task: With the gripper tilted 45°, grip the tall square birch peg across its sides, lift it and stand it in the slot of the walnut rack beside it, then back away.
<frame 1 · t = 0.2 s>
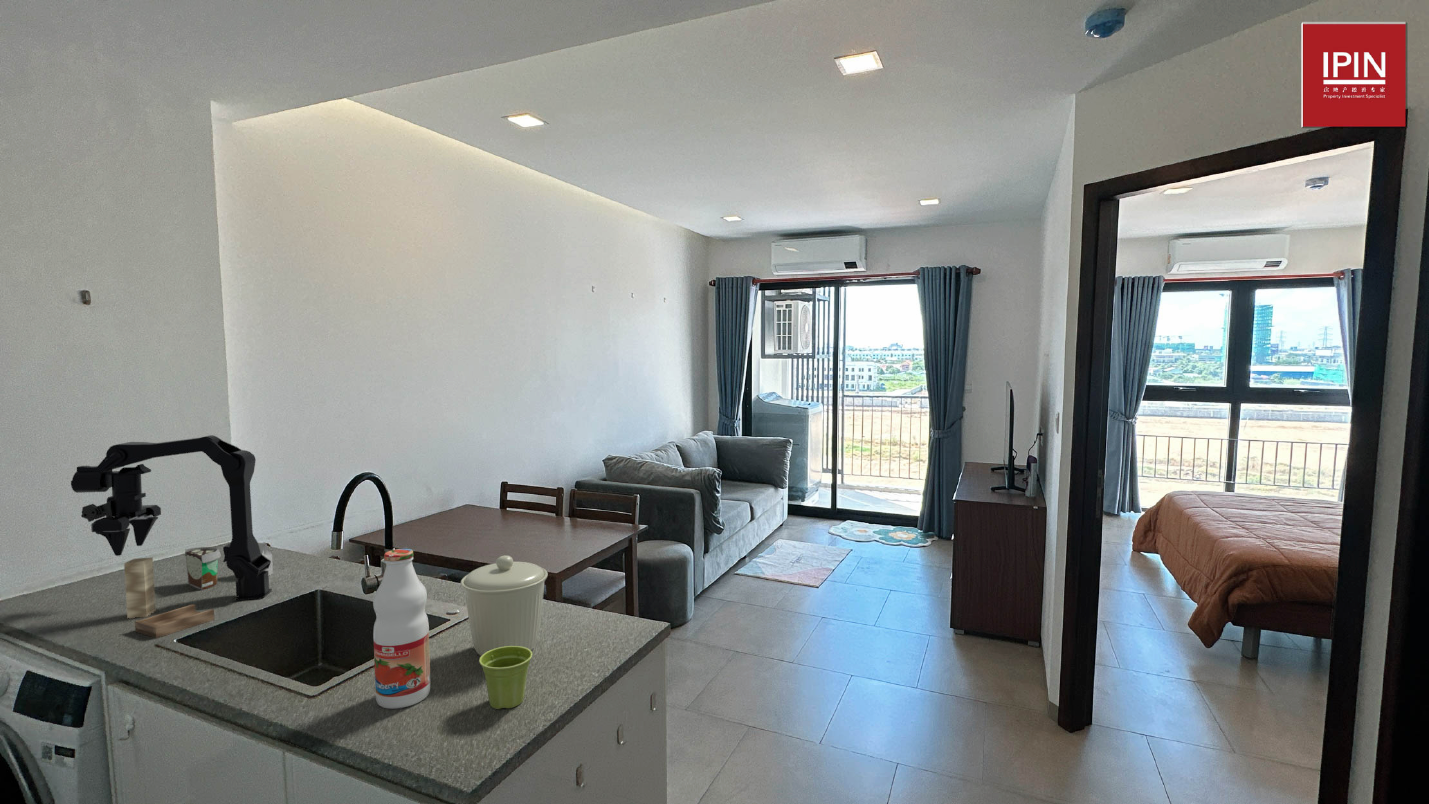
hand: (129, 550, 169), 15 cm above the worktop, tool pointing down, fingers open, 9 cm apart
food container: (208, 584, 188), on the worktop
plant pot: (507, 702, 122), on the worktop
tea bag: (258, 575, 195), on the worktop
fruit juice: (403, 698, 123), on the worktop
canister: (506, 650, 144), on the worktop
birch peg: (141, 614, 165), on the worktop
walnut rack: (175, 625, 158), on the worktop
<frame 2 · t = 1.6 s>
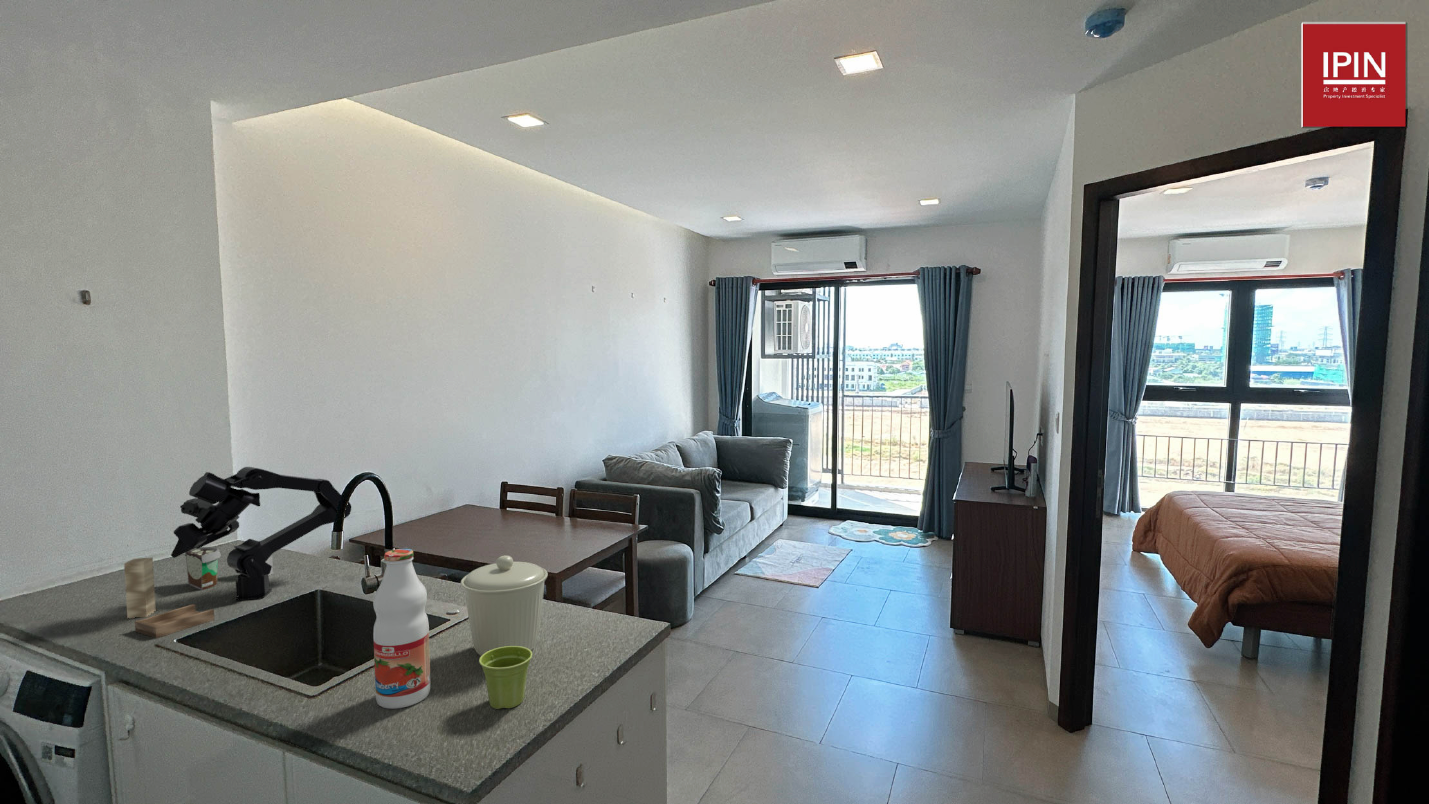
hand: (184, 551, 172), 14 cm above the worktop, tool tilted 45°, fingers open, 9 cm apart
nothing on the worktop moved.
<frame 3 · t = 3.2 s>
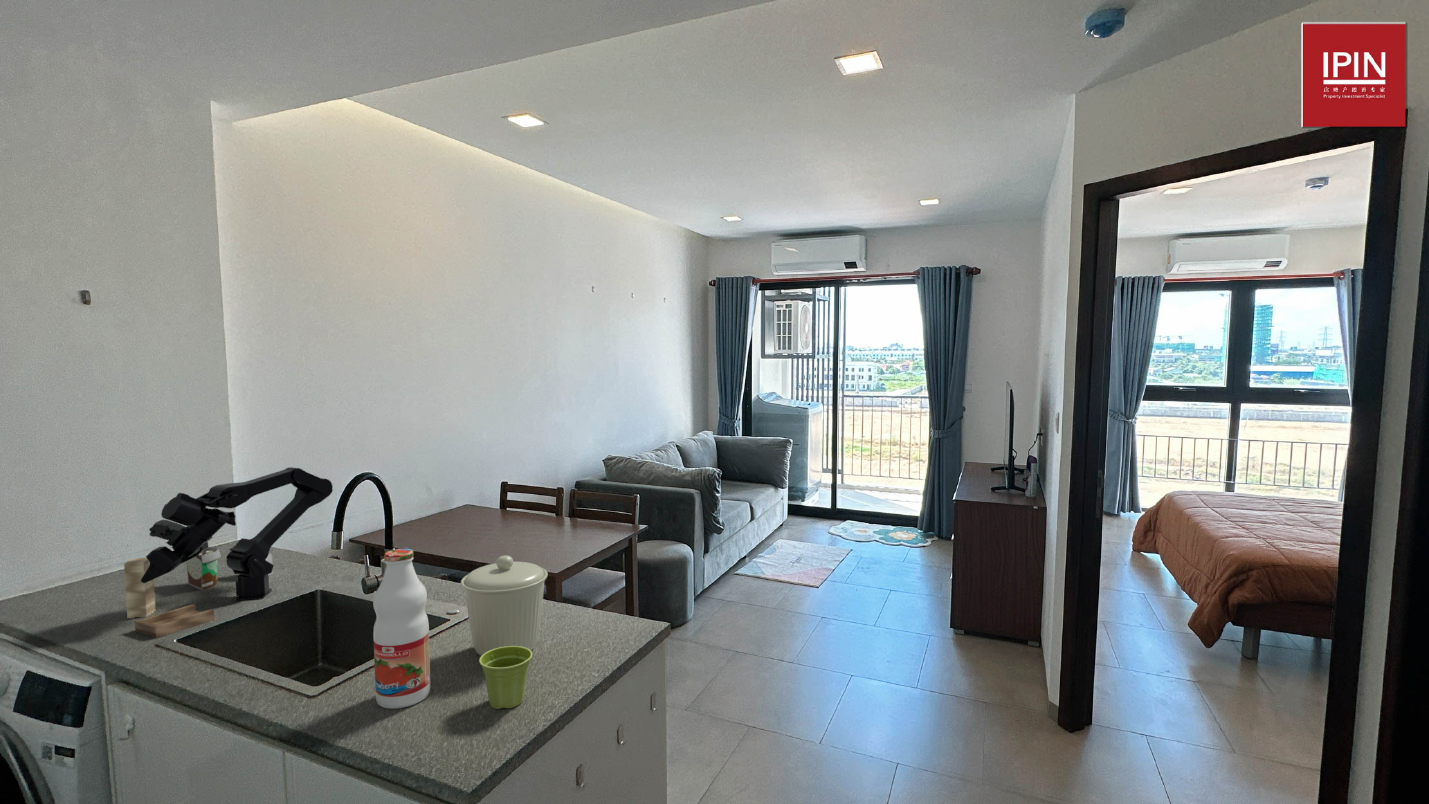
hand: (152, 576, 165), 10 cm above the worktop, tool tilted 45°, fingers open, 9 cm apart
nothing on the worktop moved.
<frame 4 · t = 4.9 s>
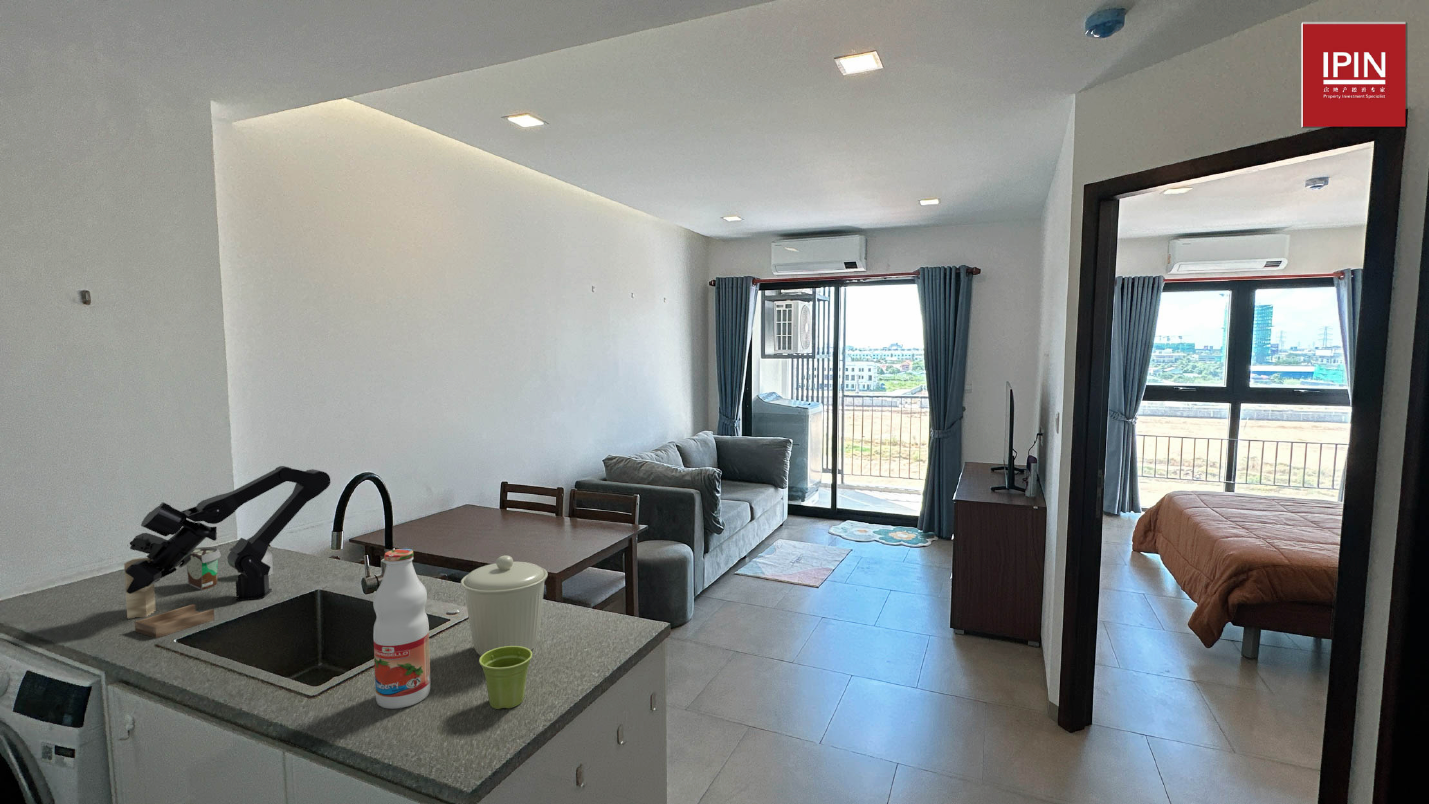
hand: (133, 589, 164), 7 cm above the worktop, tool tilted 45°, fingers closed on birch peg, 4 cm apart
birch peg: (141, 614, 165), on the worktop, touching gripper
everything else where it was.
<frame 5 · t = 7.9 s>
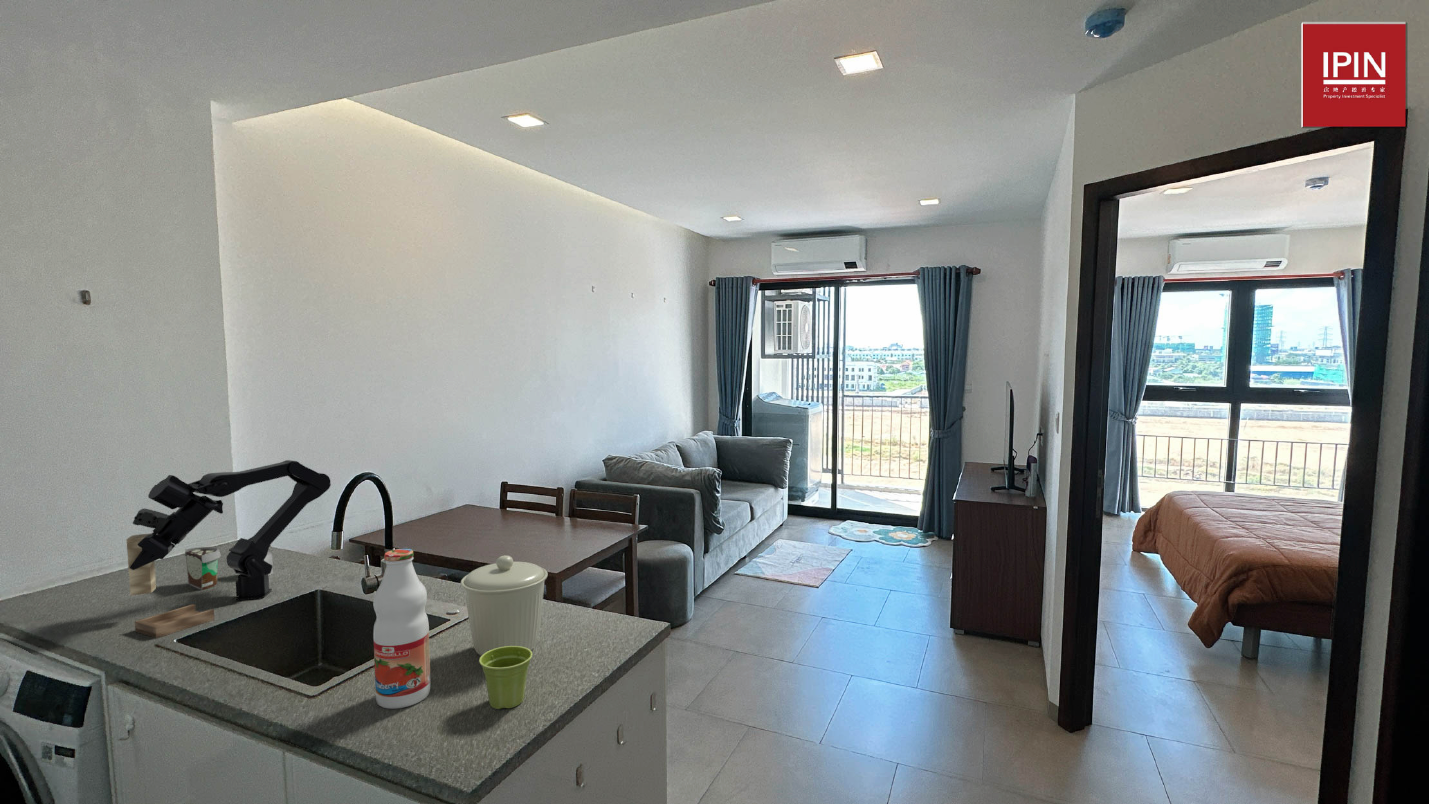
hand: (134, 566, 160), 14 cm above the worktop, tool tilted 45°, fingers closed on birch peg, 4 cm apart
birch peg: (143, 591, 161), point 7 cm above the worktop, touching gripper
everything else where it was.
when the fingers open (9 cm above the worktop, at t = 10.7 s): birch peg stays where it is, resting on walnut rack.
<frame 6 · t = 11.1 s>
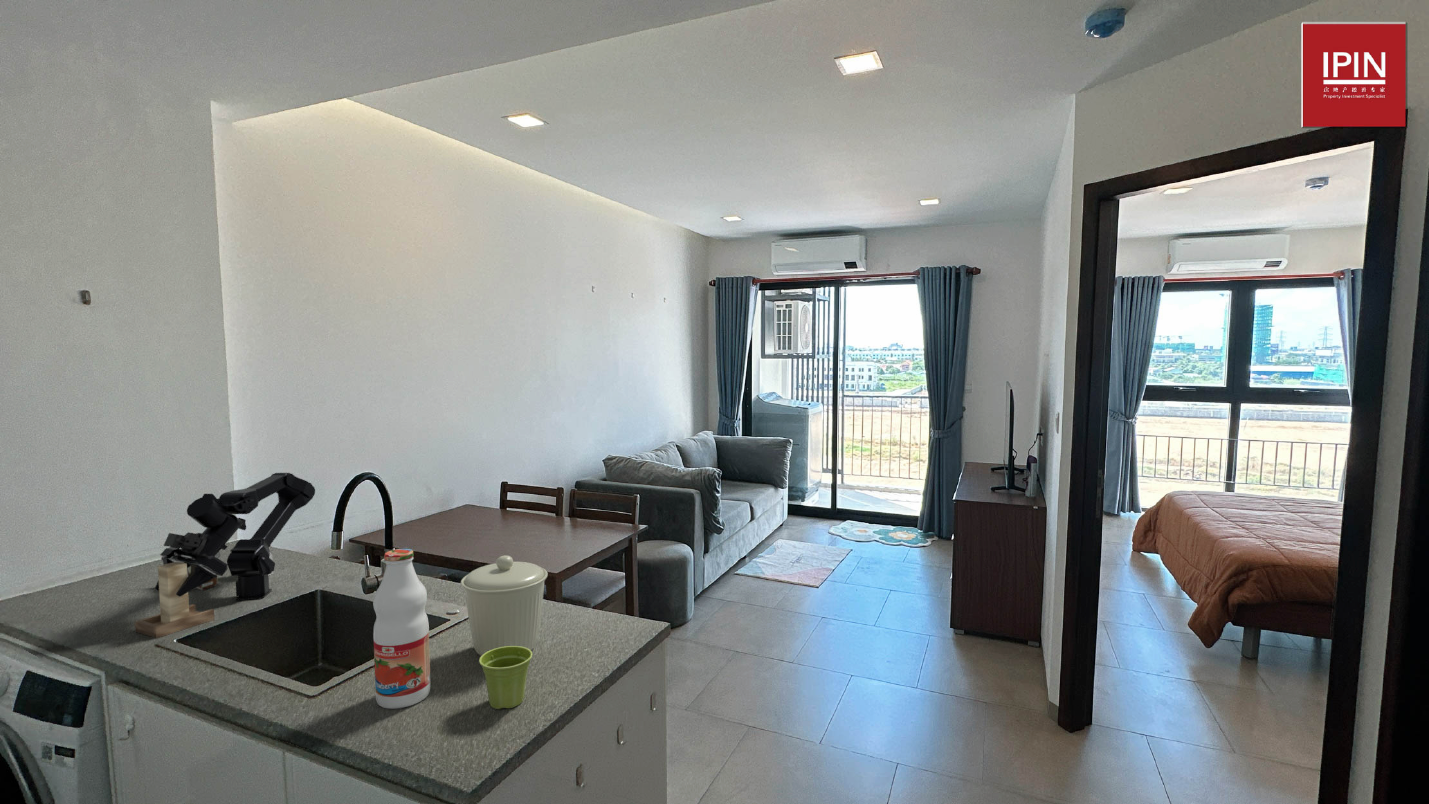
hand: (167, 592, 156), 9 cm above the worktop, tool tilted 45°, fingers open, 9 cm apart
birch peg: (175, 621, 158), point 1 cm above the worktop, touching walnut rack
everything else where it was.
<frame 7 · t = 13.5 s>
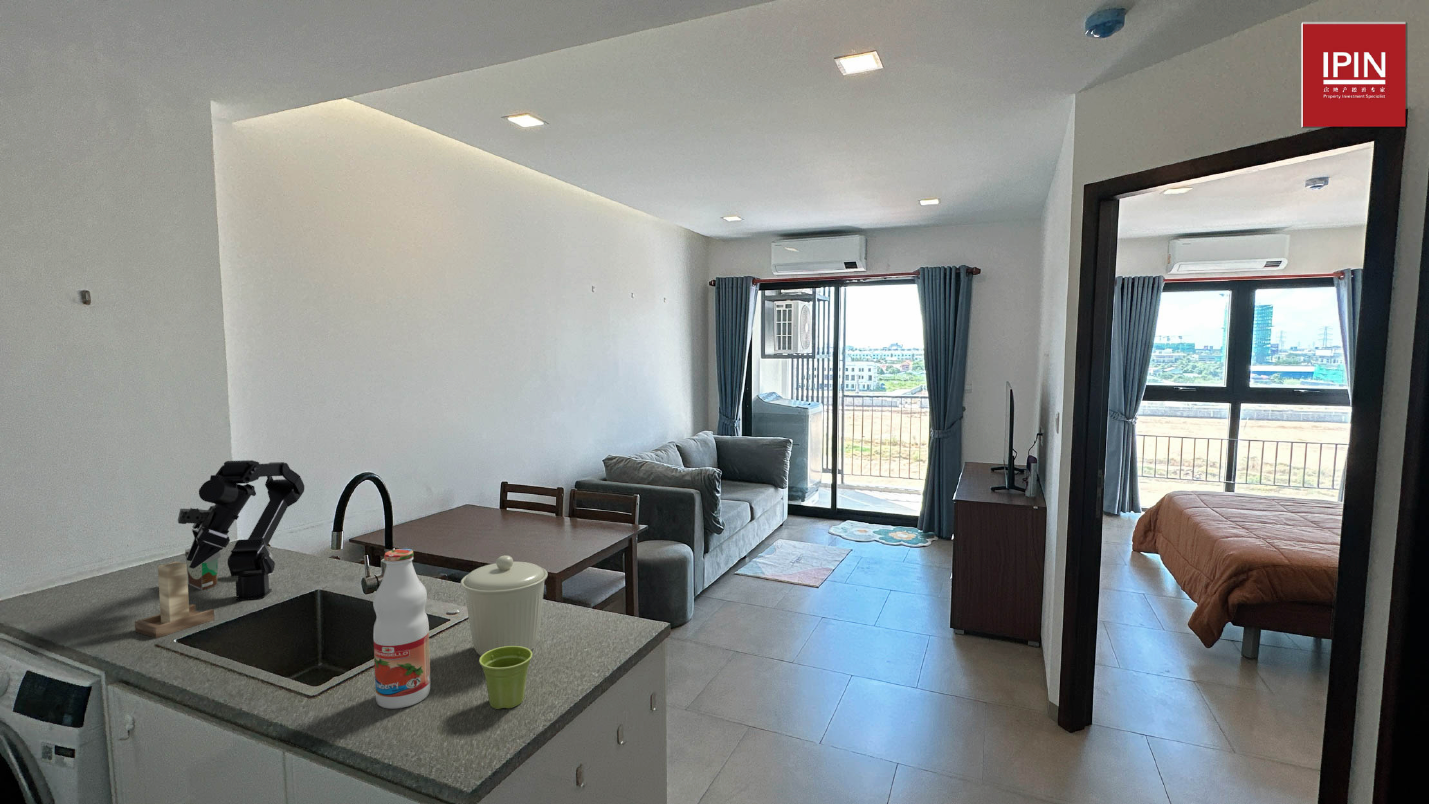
hand: (189, 564, 164), 13 cm above the worktop, tool tilted 30°, fingers open, 9 cm apart
nothing on the worktop moved.
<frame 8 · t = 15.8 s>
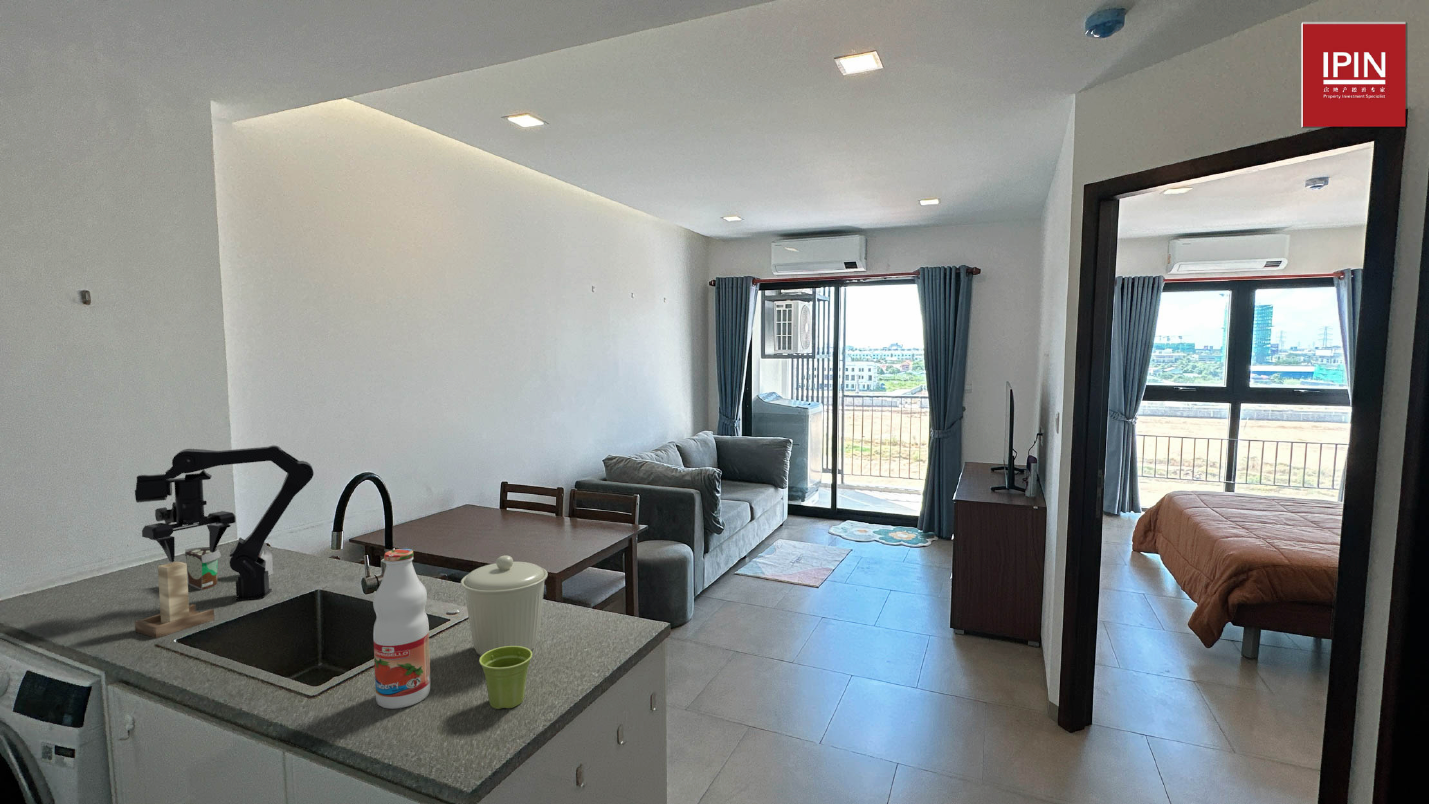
hand: (192, 556, 170), 13 cm above the worktop, tool pointing down, fingers open, 9 cm apart
nothing on the worktop moved.
at the end: birch peg 0.0 cm off-centre on the walnut rack, point 1.0 cm above the walnut rack's base; birch peg tilted 0°; the gripper is holding nothing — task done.
